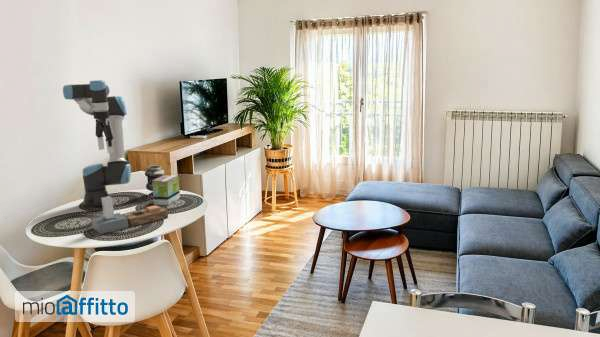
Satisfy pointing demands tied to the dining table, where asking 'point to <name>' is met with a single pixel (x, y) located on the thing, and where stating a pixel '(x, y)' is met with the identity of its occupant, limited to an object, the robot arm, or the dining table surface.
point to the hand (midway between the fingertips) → (106, 151)
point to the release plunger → (152, 208)
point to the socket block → (145, 216)
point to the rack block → (109, 224)
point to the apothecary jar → (153, 176)
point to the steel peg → (108, 208)
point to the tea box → (166, 189)
